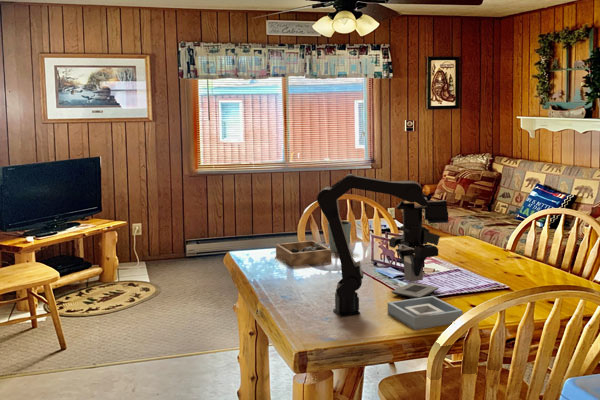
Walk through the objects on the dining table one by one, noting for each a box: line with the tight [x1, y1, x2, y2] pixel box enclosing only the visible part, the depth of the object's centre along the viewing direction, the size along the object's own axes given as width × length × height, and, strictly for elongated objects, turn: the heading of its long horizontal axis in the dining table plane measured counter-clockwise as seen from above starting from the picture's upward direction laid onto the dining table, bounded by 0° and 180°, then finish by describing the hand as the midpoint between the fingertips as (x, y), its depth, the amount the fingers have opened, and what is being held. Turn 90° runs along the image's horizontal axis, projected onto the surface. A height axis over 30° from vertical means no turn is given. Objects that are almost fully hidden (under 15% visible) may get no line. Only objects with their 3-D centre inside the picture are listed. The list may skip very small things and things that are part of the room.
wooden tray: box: [275, 240, 333, 267], centre depth 277 cm, size 17×19×5 cm
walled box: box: [387, 295, 464, 331], centre depth 202 cm, size 16×16×4 cm
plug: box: [403, 255, 424, 283], centre depth 204 cm, size 4×4×7 cm
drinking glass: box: [327, 220, 352, 253], centre depth 291 cm, size 10×10×12 cm
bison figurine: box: [290, 242, 323, 253], centre depth 275 cm, size 12×7×10 cm
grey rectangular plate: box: [391, 281, 440, 299], centre depth 226 cm, size 13×10×2 cm
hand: (413, 274), depth 204 cm, fingers closed on plug, 4 cm apart
